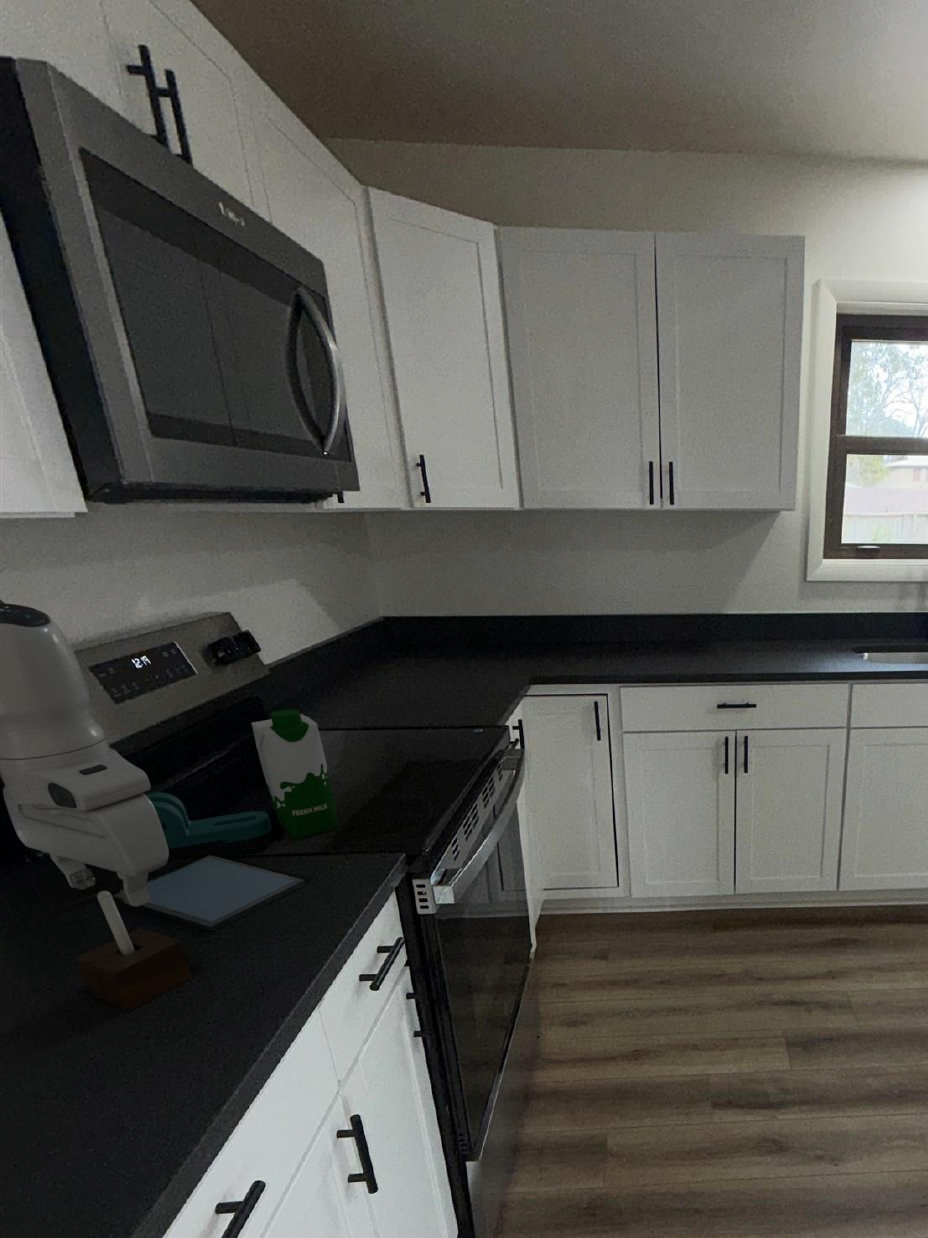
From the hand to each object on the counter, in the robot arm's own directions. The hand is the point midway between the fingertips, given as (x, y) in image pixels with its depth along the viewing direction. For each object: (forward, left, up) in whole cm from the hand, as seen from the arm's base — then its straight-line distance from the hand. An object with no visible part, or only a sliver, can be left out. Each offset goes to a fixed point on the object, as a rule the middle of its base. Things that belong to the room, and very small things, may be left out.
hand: (110, 894), depth 83 cm
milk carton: (-21, +40, -12) cm, 47 cm away
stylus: (0, 0, -12) cm, 12 cm away
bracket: (-32, +30, -12) cm, 46 cm away
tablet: (-14, +18, -12) cm, 26 cm away
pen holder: (0, 0, -12) cm, 12 cm away
